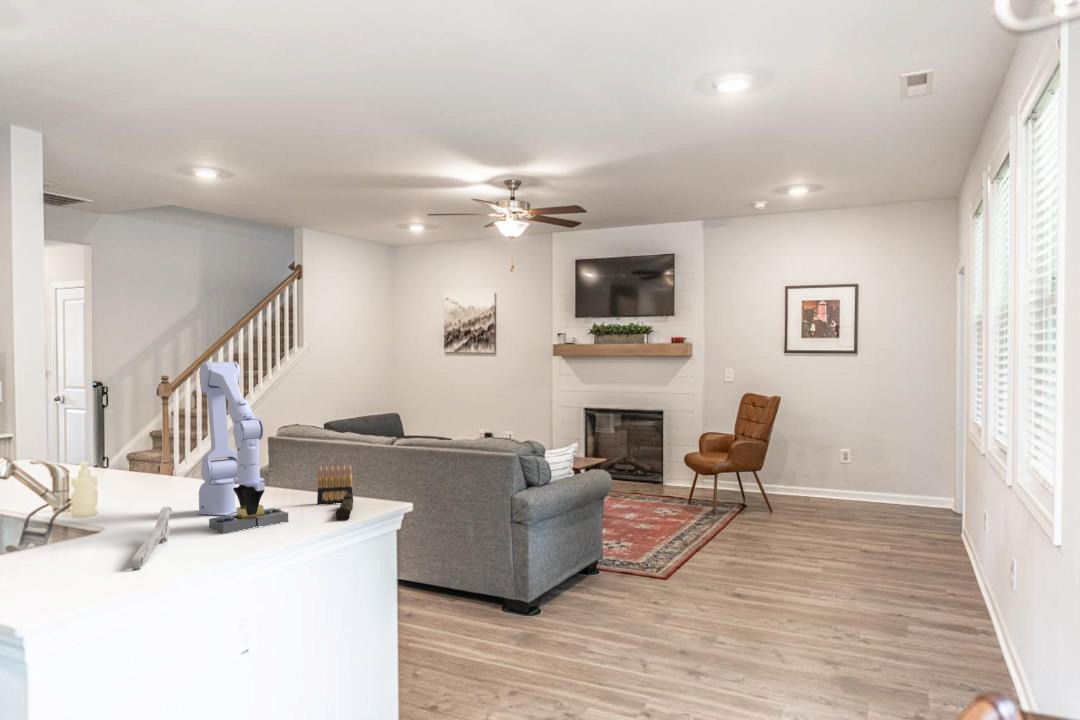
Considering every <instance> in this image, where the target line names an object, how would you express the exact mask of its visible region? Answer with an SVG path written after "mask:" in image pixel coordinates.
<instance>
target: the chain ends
mask: <svg viewBox="0 0 1080 720" xmlns="http://www.w3.org/2000/svg"><path fill="white" fill-rule="evenodd" d="M286 521H288V522H289V512H287V511H284V510H281V508H275V507H271V508H265V509H264V508H263V515H262V516H256V517H254V518H253V517H251V518H245V519H237V513H236V514H234V513H233V514H228V515H225V516H222V515H221V516H217V517H211V518H209V519H208V528H209V529H210V528H212V529H211V530H213V529H214V530H213V531H215V530H217V531H216V532H218V531H219V532H218V533H220V532H221V534H222V533H226V534H229V533H228V532H231V533H234V532H233V531H236V532H239V531H238V530H242V531H244V530H243V529H247V530H249V529H248V528H253V527H256V526H257V527H256V528H260V527H259V526H263V527H266V526H265V525H269V526H271V525H270V524H274V525H277V524H276V523H279V524H281V523H280V522H285V523H287V522H286ZM253 529H254V528H253Z"/></svg>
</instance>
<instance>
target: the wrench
mask: <svg viewBox="0 0 1080 720" xmlns="http://www.w3.org/2000/svg"><path fill="white" fill-rule="evenodd" d="M159 511H160V512H159V515H158V519H157V521H156V523H155V526H154V528H153V529H152V531H151V532H150V534H149V535H148V537H146V539H145V541H144V542H143V543H142V544H141V546H140V547H139V549H138V550H137V552H136V553H135V554H134V555H133V557H132V559H131V569H132V570H133V569H136V570H142V568H143V567H144V566H145V564H146V563H147V562H148V560H149V559H150V557H151V555H152V554H153V553H154V551H155V550H156V548H157V546H158V545H159V544H160V543H161V544H163V543H166V542H165V541H167V542H168V539H169V538H168V536H169V534H170V531H171V526H169V519H170V516H171V515H173V509H172V508H171V507H170V506H163V507H161V509H160V510H159ZM141 567H142V568H141Z"/></svg>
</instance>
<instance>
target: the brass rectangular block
mask: <svg viewBox="0 0 1080 720" xmlns="http://www.w3.org/2000/svg"><path fill="white" fill-rule="evenodd" d="M236 508H237V512H236V514H237V519H245V518H251V517H253V518H254V517H256V516H262V515H263V509H264V505H262V504H260V503H259V505H258V510H257V514H254V515H248V513H247V507H246V506H243V507H240V506H238V507H236Z"/></svg>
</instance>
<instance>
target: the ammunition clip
mask: <svg viewBox="0 0 1080 720" xmlns="http://www.w3.org/2000/svg"><path fill="white" fill-rule="evenodd" d="M347 466H348V467H347V469H346V466H345V464H343V465H342V467H341V469H340V466H339V465H338V464H336V468H334V466H333V464H330V469H328V466H327V464H325V466H324V469H323V468H322V466H321V465H319V466H318V473H317V498H316V501H317V502H316V505H317V504H326V505H337V504H336V503H342V502H343V499H344V496H345V495H346V494H347V493H352V495H353V496H354V494H353V493H354V492H353V491H354V490H353V489H354V486H353V485H354V483H353V472H352V465H351V464H349V463H348V465H347ZM346 470H347V471H346ZM340 471H341V472H340ZM323 473H324V474H323ZM334 503H335V504H334Z"/></svg>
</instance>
